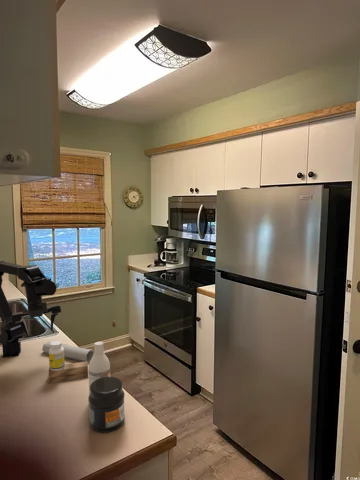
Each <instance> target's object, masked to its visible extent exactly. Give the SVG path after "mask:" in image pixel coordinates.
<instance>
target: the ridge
mask: <svg viewBox="0 0 360 480" xmlns="http://www.w3.org/2000/svg"><path fill="white" fill-rule="evenodd" d="M86 378H89V363H87V361H86V362H83V361H79V362H73V363H67V364H66V363H65V367H64V368H63V369H61V370H58V371H52V370H50V366H49V367H48V384H53V383H60V382H65V381H72V380H79V379H80V380H81V379H86Z"/></svg>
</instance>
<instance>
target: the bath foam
mask: <svg viewBox="0 0 360 480" xmlns="http://www.w3.org/2000/svg"><path fill="white" fill-rule="evenodd" d="M93 345H94V349H93V352H94V356H93V357H92V359H91V361H90V362H89V363H88V393H89V395H90V385H91V384H92V383H93V382H94V381H95V380H97V379H99V378H103V377H111V363H110V360H109V358H108V357H107V355H106V354H105V351H104V350H105V349H104V341H96V342H94V344H93ZM89 395H88V396H89Z"/></svg>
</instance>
